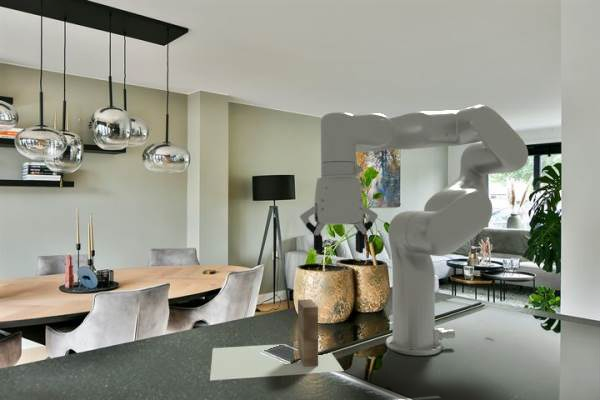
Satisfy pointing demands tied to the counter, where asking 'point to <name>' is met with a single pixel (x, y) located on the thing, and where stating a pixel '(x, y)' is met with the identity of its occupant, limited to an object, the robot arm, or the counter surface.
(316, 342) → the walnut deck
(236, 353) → the mat
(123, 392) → the counter surface
